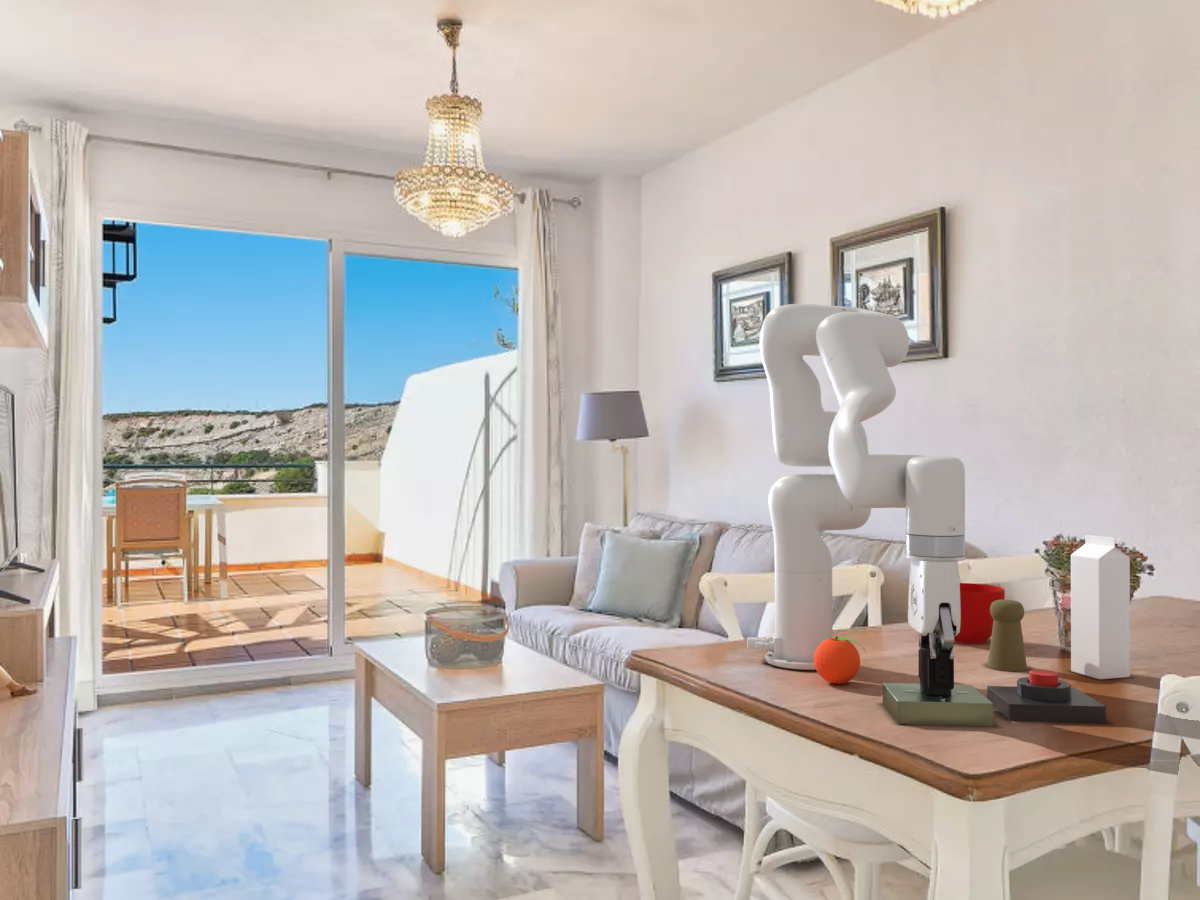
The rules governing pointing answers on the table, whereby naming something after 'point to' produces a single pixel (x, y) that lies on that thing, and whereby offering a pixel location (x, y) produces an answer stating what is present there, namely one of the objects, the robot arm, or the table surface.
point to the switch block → (1045, 703)
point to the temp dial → (924, 674)
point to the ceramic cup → (977, 612)
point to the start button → (1043, 677)
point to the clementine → (837, 660)
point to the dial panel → (937, 706)
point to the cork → (1007, 636)
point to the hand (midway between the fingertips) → (935, 682)
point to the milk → (1100, 609)
